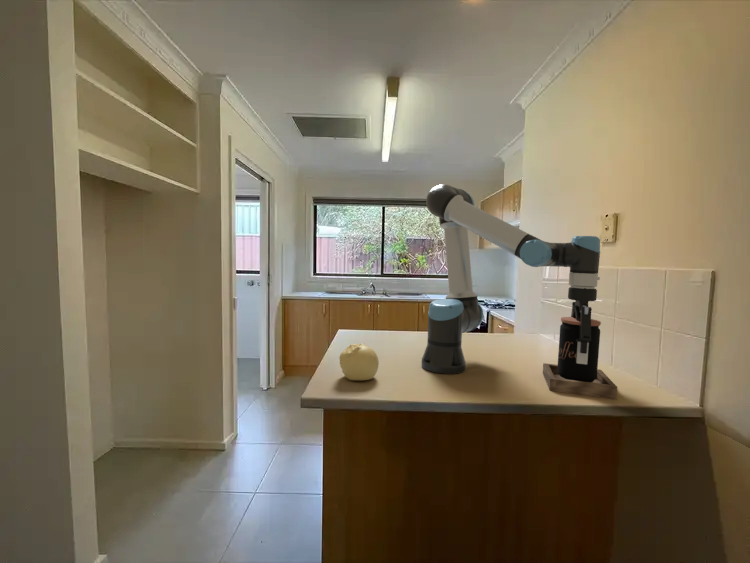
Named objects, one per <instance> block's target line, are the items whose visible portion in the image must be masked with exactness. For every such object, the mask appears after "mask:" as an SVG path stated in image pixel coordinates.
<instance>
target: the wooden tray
mask: <svg viewBox="0 0 750 563" xmlns="http://www.w3.org/2000/svg"><path fill="white" fill-rule="evenodd" d="M542 365H543V366H542V375H543V378H544V380H545V382H546V385H547V389H548V390H549V391H552V392H557V391H558V393H565V394H574V395H581V396H589V397H596V398H604V399H611V400H617V398H618V386H617V385H616V384H615V383H614V382H613V381H612V380H611V379H610V378H609V377H608V376H607V374H606V373H605V372H604V371H603V370H602V369H598V368H597V377H596V379H595V380H594V381H593V382H584V381H576V380H568V379H565V378H563V377H561V376H560V375H559V373H558V371H557V367H558V364H556V363H555V364H553V363H546V362H545V363H544V362H543V364H542Z"/></svg>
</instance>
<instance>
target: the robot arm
mask: <svg viewBox="0 0 750 563" xmlns="http://www.w3.org/2000/svg"><path fill="white" fill-rule="evenodd" d="M425 201H426V202H425V203H426V204H425V205H426V207H427V210H428V211H429V213H430V214H432V215H433V216H435V217H438V219H439V220H438V222H439V227H440V228H441V229H443V231H444V240H445V241H444V243H445V244H444V245H445V252H446V253H445V256H446V268H447V269H446V270H447V278H448V282H447V283H448V293H447V295H446V296H445V298H443V299H441V298H440V299H435V300H433V301H431V302H430V303H429V305H428V311H427V312H428V313H427V315H428V316H427V318H428V319H427V321H428V322H427V344H426V347H425V349H424V353H423V355H422V357H421V368H422V369H424V370H426V371H428V372H432V373H437V374H444V375H445V374H447V375H452V374H453V375H454V374H461V373H464V372H465V371H466V360H465V356H464V352H463V349H462V343H463V342H462V338H463V334H464V333H469V332H471V331H474V330H476V329H477V328H478V327H479V326H480V325H481V323H482V322H483V319H484V310H483V307H482V305H481V304H480V303H479V301H478V294H477V293H475V292H474V290H473V279H472V270H471V269H472V267H471V265H472V264H471V257H470V244H469V231H470V232H471V233H474V234H475V235H477V236H479V237H481V238H483V239H485V240H486V241H488V242H490V243H492V244H494V245H495V246H497V247H499V248H501V249H503V250H504V251H506V252H508V253H509V254H511V255H512V256H513V255H514V256H515V257H517V258H518V259H520V260H521V261H522V262H523V263H524V264H525V265H527V266H529V267H533V268H540V267H555V268H556V267H563V268H569V274H568V285H569V286H570V287H569V288H568V292H567V299H568V300H571V301H572V302H571V305H572V306H571V315H570V317H573V318H576V320H577V321H579V322H581V326H579V339H577V340H576V341H577V342H578V345H577V359H576V363H578V364H587V360H588V347H589V342H591V319H592V307H591V306H589V302H596V301H597V297H598V296H597V295H598V289H597V287H598V281H600V279H601V277H600V276H599V269H600V268H599V267H600V257H601V239H600V237H599V236H596V235H576V236H573V237H572V238H571V242H548V241H544V240H542V239H540V238H538V237H536V236H534V235H532V234H530V233H529V232H526V231H525V230H523V229H520V228H519V227H516V226H514V225H512V224H510V223H509V222H507V221H504V220H503V219H501V218H499V217H497V216H495V215H494V214H491V213H489V212H487V211H485V210H483V209H482V208H480V207H478V206H475V201H474V199H473V197H472V196H471V195H470V193H468V192H467V191H466V190H464V189H461V188H458V187H457V188H456V187H454V186H451V185H449V184H445V183H443V184H438V185H436V186H434V187H432V188H431V189H430V190H429V191H428V194H427V196H426V199H425Z"/></svg>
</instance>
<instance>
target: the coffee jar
mask: <svg viewBox="0 0 750 563" xmlns="http://www.w3.org/2000/svg"><path fill="white" fill-rule="evenodd" d="M560 321H561V324H560V326H559V339H558V355H557V365H558V367H557V371H558V373H559V375H560V376H561V377H563V378H565V379H568V380H576V381H584V382H593V381H594V380H595V379H596V377H597V369H598V365H599V355H600V354H599V353H600V342H601V341H600V338H601V330H600V328H599V327H600V326H601V324H602V322H601V321H600V320H598V319H594V318H591V342H589V347H588V360H587V364H578V363H576V359H577V345H578V342H577V341H576V340H577V339H579V326H581V322H579V321H577V320H576V318H573V317H571V316H563V317H561V318H560Z"/></svg>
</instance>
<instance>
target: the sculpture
mask: <svg viewBox="0 0 750 563" xmlns="http://www.w3.org/2000/svg"><path fill="white" fill-rule="evenodd" d="M339 366H340V368H341V372H342V374H343V375H344V377H345V378H347V380H350V381H369V380H372V379H373V378H374V377H375V376H376V375H377V372H378V369H379V357H378V355H377V353H376V351H375V350H374V349H373V348H372V347H370V346H368V345H366V344H365V343H351V344H350V345H349V346H347V347H346V348H345V349H344V350H343V351H342V352H341V353H340V355H339Z"/></svg>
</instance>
